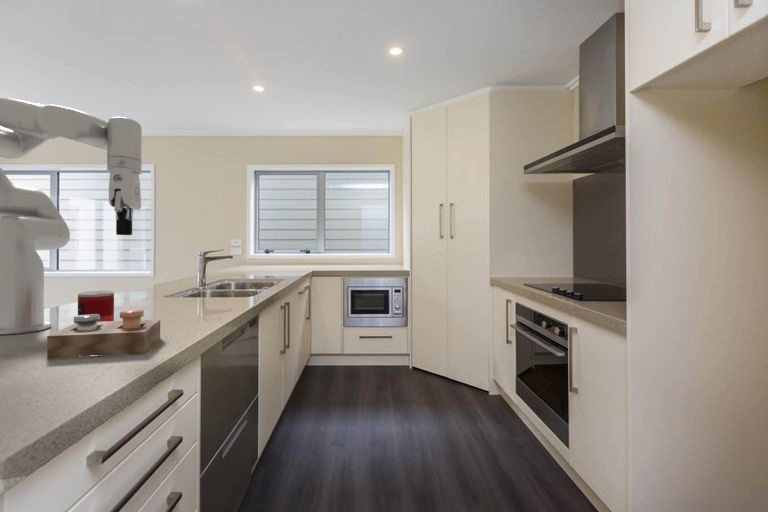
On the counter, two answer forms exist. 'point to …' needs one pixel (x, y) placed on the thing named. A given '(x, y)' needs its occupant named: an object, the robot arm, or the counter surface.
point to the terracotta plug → (131, 318)
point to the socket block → (103, 340)
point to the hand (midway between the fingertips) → (124, 234)
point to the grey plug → (87, 321)
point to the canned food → (97, 304)
